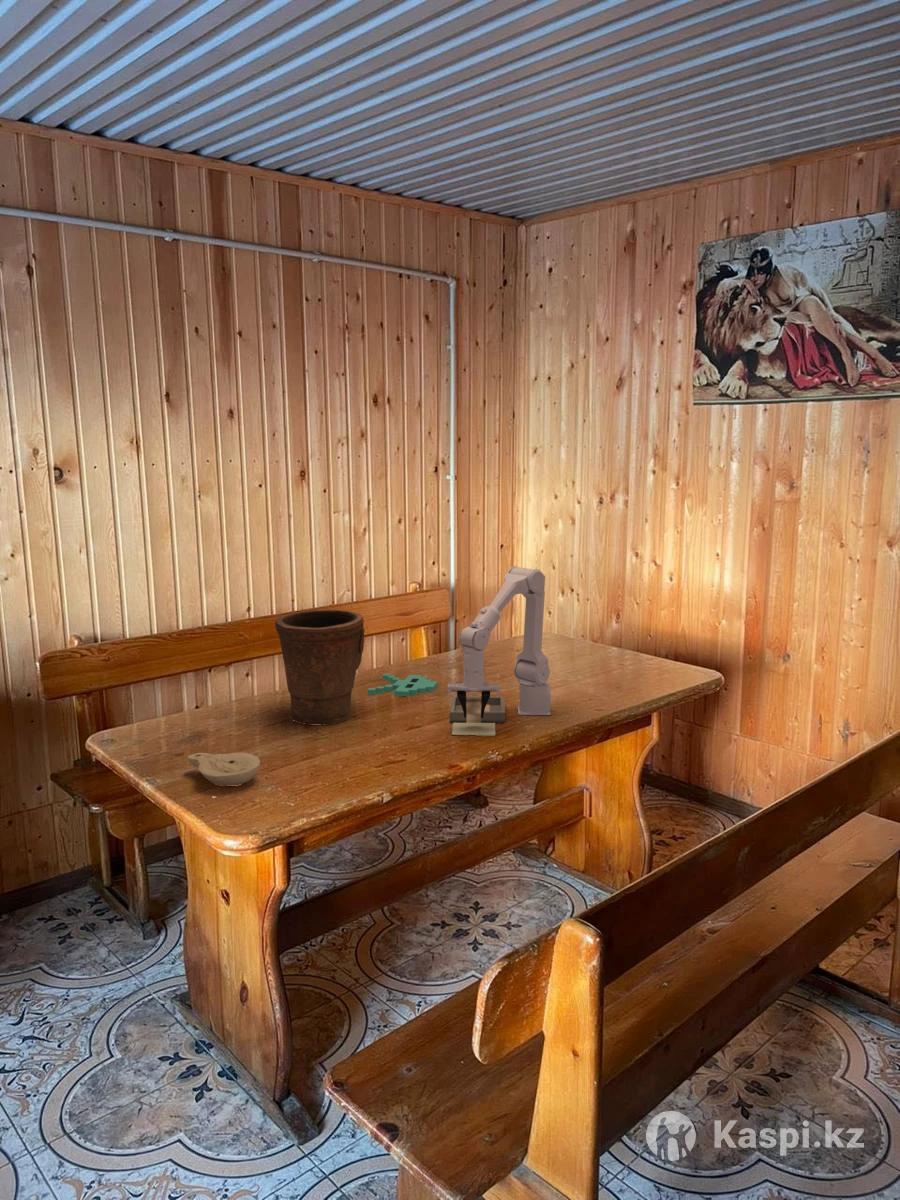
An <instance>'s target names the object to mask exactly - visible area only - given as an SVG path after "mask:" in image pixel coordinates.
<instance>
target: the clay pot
mask: <svg viewBox="0 0 900 1200" xmlns="http://www.w3.org/2000/svg"><path fill="white" fill-rule="evenodd" d="M364 621H365V620H364V618H363V615H362V614H361V613H358V612H355V611H351V610H344V609H313V610H303V611H298V612H297V611H296V612H292V613H287V614H283V615H280V616H278V617H277V618H276V619H275V623H274V626H275V630H276V633H277V635H278V638H279V639H278V640H279V642H280V648H281V654H282V660H283V664H284V672H285V677H286V678H285V679H286V685H287V691H288V693H289V697H290V714H289V717H290V716H291V718H292V720H295V721H297V722H300V723H305V724H321V725H320V726H324V725H323V724H330V725H335V724H334V723H336V724H339V723H338V722H340V723H343V722H345V721H347V720H349V719H350V718H351V717H352V716H353V714H352V711H351V709H352V707H351V706H352V704H351V703H352V692H353V689H354V687H355V686H354V685H355V679H356V674H357V671H358V669H359V667H360V665H361V663H362V658H363V653H364V647H365V629H364ZM291 718H290V719H291ZM292 720H291V721H292ZM344 720H345V721H344ZM342 721H343V722H342Z"/></svg>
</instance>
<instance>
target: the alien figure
mask: <svg viewBox="0 0 900 1200" xmlns="http://www.w3.org/2000/svg"><path fill="white" fill-rule="evenodd" d="M382 681H386V682H387V683H390V682H392V683H391V684H385V686H380V685H378V686H377V687H369V688H368V689H367V696H376V695H379V694H380V695H381V694H382V695H384V693H392V692H393V691H394V693H393V695H394V696H406V697H405V698H409V697H410V696H415V695H417V696H418V693H425V694H426V693H434V692H435V691H434V690H437V688H438V681H435V680H433V678H432V679H431V678H429V679H428V677H426V676H425V677H424V676H423V675H421V674H409V675H407V677H406V678H405V679H401V678H400V677H396V675H392V673H383V675H382ZM393 684H394V685H393ZM433 691H434V692H433ZM409 695H410V696H409ZM408 696H409V697H408Z"/></svg>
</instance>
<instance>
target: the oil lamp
mask: <svg viewBox="0 0 900 1200" xmlns="http://www.w3.org/2000/svg"><path fill="white" fill-rule="evenodd" d="M187 760H188V762H189V763H190V764H191V765H192V766H193V767H196V768H197V769H198V771H199V773H200V774H201V775H202V776H203V777H204V778H205V779H207V780H208V781H209V782H210V783H212V784H213V783H214V784H217V785H223V786H227V785H239V784H243V783H245V782H246V783H248V782H249V781H250V780H251V779H253V778H254V777H255V775H256V774H257V773H258V771H259V769H260V765H261V761H260V758H259V757H258V756H256V755H254V754H251V753H247V752H232V753H230V752H229V753H216V754H212V753H208V752H207V753H206V752H198V753H192V754H190V755H188V756H187ZM247 781H248V782H247ZM246 783H245V784H246ZM214 784H213V785H214ZM243 785H244V784H243Z"/></svg>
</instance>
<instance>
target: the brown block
mask: <svg viewBox="0 0 900 1200" xmlns="http://www.w3.org/2000/svg"><path fill="white" fill-rule="evenodd" d="M466 706H467V723H481V698H467V702H466Z"/></svg>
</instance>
